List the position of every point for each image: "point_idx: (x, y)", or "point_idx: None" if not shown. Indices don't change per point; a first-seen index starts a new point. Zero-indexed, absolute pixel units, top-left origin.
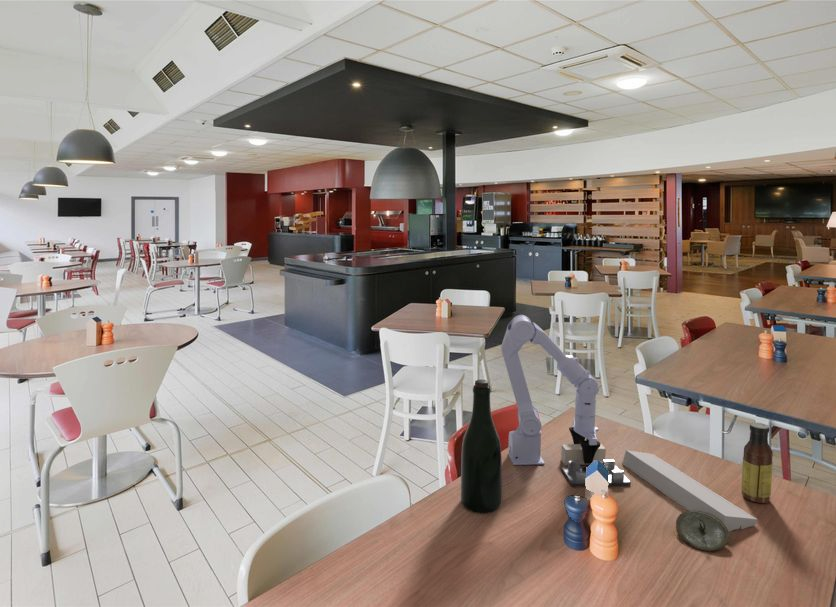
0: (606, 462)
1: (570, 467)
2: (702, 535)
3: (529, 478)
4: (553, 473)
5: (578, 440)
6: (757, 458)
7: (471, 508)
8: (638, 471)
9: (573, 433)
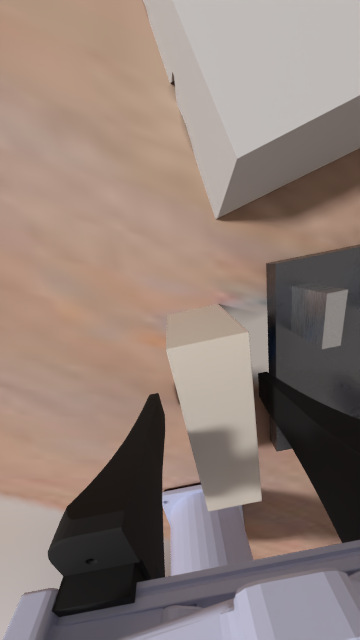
0: (336, 332)
1: None
2: None
3: (305, 497)
4: (285, 457)
5: (155, 461)
6: None
7: None
8: (346, 148)
9: (160, 545)
